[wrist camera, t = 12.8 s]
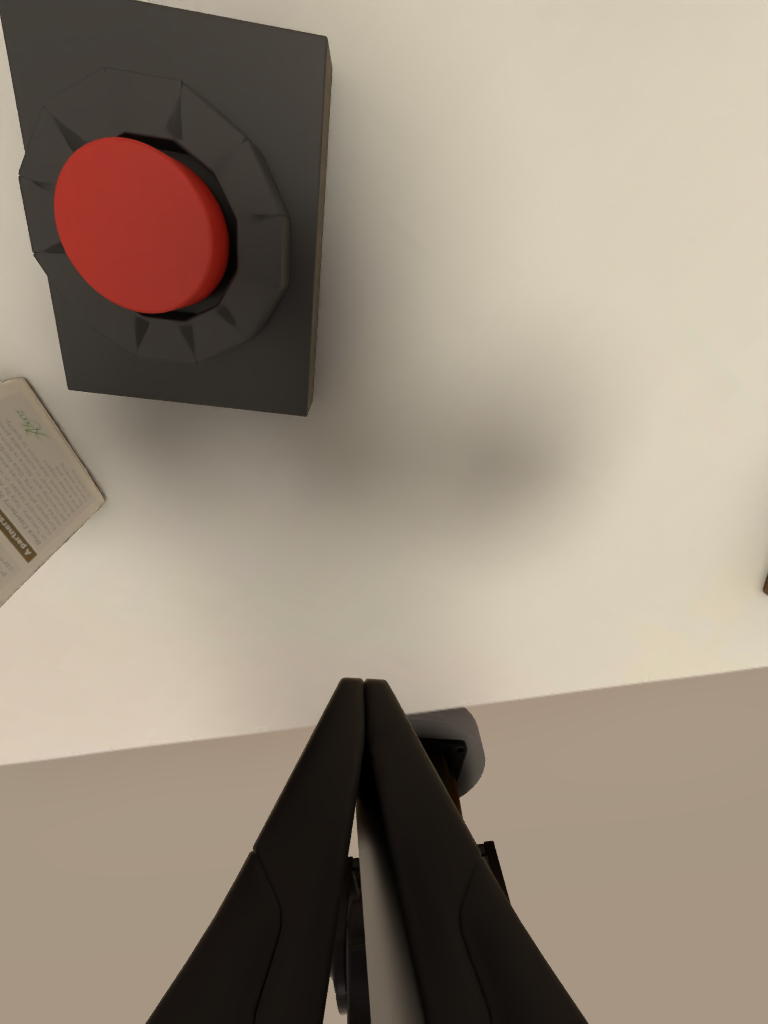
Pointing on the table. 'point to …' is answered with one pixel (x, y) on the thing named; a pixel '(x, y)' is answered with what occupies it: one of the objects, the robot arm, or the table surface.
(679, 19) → the table surface
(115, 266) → the button
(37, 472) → the syrup box
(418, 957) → the robot arm
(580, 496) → the table surface
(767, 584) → the panel
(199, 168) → the block
